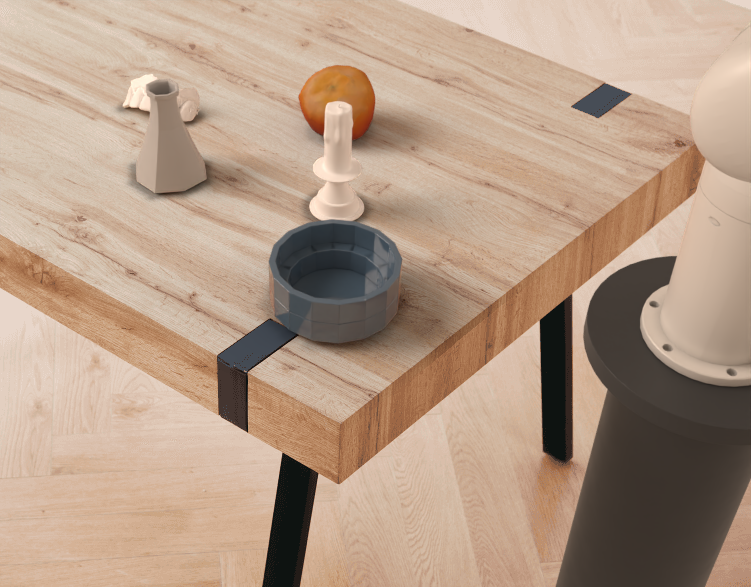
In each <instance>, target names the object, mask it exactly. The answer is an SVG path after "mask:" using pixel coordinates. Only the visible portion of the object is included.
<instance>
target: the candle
mask: <svg viewBox="0 0 751 587" xmlns="http://www.w3.org/2000/svg"><path fill="white" fill-rule="evenodd" d="M352 127H353V119H352V106H351V105H350V104H348V103H346V102H342V101H335V102H330V103H327V105H326V109H325V129H324V136H323V140H324V141H323V142H324V144H323V145H324V146H323V148H324V149H323V155H322V156H321V157H319V158H318V159H316V160H315V162H313V165H312V171H313V174H314V175H315V176H316V177H317V178H319V179H320V180H322V181H325V183H324V185H323V186H322V187H321V188H319V189H318V192H317V194H316V195H315V196H313V198H311V200H310V202H309V206H308V207H309V211H310V213H311V215H312V216H313V217H314V218H316V219H317V220H318V221H322V220H329V219H337V220H346V221H356V220H357V219H359V218H360V217H361V216H362V214H363V213H364V211H365V204H364V201H363V200H362V199H361V198H360V196H358V195H357V192H356V190H355V189H354V188H353V187H351V186H350V183H349V182H351V181H354V180H356V179H357V178H358V177H360V175H361V174H362V172H363V165H362V163H361V162H360V161H359V160H358V159H357V158H355V157H354V156H352V149H353V148H352V147H353V146H352V145H353V144H352V143H353V140H352Z"/></svg>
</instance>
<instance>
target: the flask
mask: <svg viewBox="0 0 751 587" xmlns="http://www.w3.org/2000/svg"><path fill="white" fill-rule="evenodd" d="M179 90H180V86H179V83H178V82H176V81H174V80H173V79H171V78H161V79H158V80H154V81H152V82H150V83H148V84H146V94H147V96H148V97H150V104H151V105H150V112H149V118H148V123H147V126H146V129H145V134H144V136H143V140H142V143H141V146H140V150H139V153H138V156H137V159H136V163H135V170H136V171H135V174H136V175H135V176H136V182H137V183H139V184H140V185H142V186H143V187H144V188H146V189H147V190H150V191H151V192H152V193H154V194H163V193H176V192H185V191H188V190H189V189H192V188H193V187H195V186H197V185H198V184H200V183H202V182H204V181H206V180H207V179H208V178H207V169H206V163H205V161H204V159H203V157H202V155H201V153H200V150H199V149H198V147H197V145H196V144H195V142H194V140H193V138H192V135H191V134H190V132H189V130H188V128H187V125H186V124H185V121H183V120H182V117H181V114H180V111H179V107H178V104H177V96H178V95H179Z"/></svg>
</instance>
